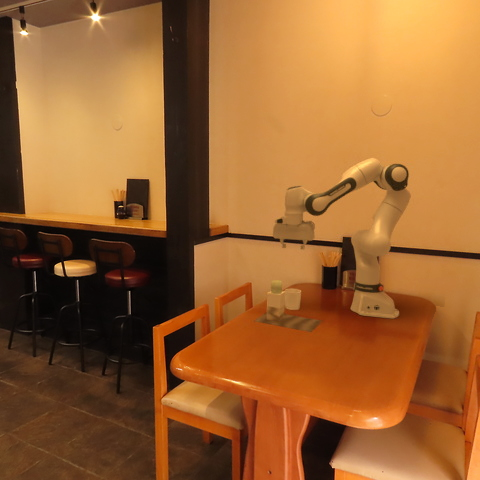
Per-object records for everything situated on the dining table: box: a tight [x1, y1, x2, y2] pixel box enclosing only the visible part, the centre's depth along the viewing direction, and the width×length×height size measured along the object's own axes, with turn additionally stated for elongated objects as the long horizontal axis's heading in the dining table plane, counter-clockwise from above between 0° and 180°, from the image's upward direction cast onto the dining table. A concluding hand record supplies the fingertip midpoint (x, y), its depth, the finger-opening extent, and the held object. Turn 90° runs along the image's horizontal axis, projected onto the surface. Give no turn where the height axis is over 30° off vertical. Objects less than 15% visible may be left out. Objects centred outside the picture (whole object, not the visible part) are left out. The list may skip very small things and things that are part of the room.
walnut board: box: [253, 311, 323, 333], centre depth 182 cm, size 26×16×2 cm, turn 63°
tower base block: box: [266, 305, 286, 322], centre depth 184 cm, size 6×6×6 cm
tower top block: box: [266, 290, 285, 308], centre depth 183 cm, size 6×6×6 cm
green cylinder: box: [270, 279, 283, 294], centre depth 182 cm, size 5×5×5 cm
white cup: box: [284, 288, 302, 311], centre depth 200 cm, size 8×8×10 cm
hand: (293, 248), depth 202 cm, fingers open, 8 cm apart
